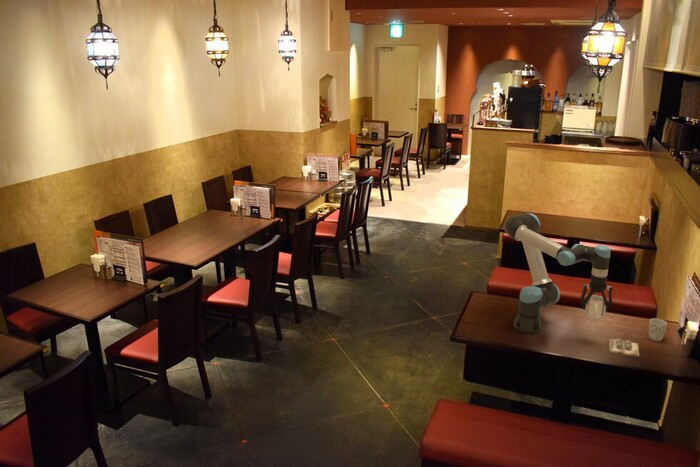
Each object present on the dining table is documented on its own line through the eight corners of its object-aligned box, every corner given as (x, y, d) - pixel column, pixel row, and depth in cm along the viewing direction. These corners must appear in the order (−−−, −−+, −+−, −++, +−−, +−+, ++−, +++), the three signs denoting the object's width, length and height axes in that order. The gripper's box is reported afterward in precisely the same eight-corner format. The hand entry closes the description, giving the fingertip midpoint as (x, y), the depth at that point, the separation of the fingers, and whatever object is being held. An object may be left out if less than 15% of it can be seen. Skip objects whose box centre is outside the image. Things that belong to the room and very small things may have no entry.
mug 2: (651, 331, 312) (654, 315, 309) (668, 336, 306) (671, 320, 304) (644, 338, 305) (647, 321, 302) (661, 343, 299) (664, 326, 296)
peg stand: (609, 351, 290) (609, 345, 289) (608, 340, 302) (609, 334, 301) (639, 357, 285) (640, 350, 284) (637, 345, 297) (638, 339, 296)
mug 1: (603, 323, 288) (605, 304, 285) (585, 320, 291) (588, 302, 288) (600, 314, 299) (603, 296, 296) (584, 311, 302) (586, 294, 299)
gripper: (578, 276, 287) (574, 316, 293) (623, 279, 283) (617, 320, 289) (576, 271, 294) (571, 311, 301) (619, 274, 290) (614, 314, 296)
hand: (594, 315), depth 295 cm, fingers closed on mug 1, 8 cm apart
